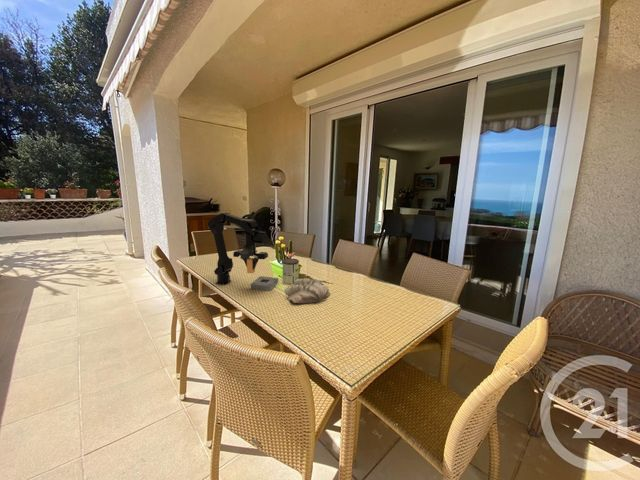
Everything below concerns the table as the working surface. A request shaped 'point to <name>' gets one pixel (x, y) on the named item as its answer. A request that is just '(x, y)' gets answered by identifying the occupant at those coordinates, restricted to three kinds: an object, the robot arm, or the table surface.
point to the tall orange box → (250, 265)
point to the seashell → (307, 291)
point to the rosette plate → (264, 283)
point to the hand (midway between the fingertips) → (251, 269)
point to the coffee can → (290, 271)
